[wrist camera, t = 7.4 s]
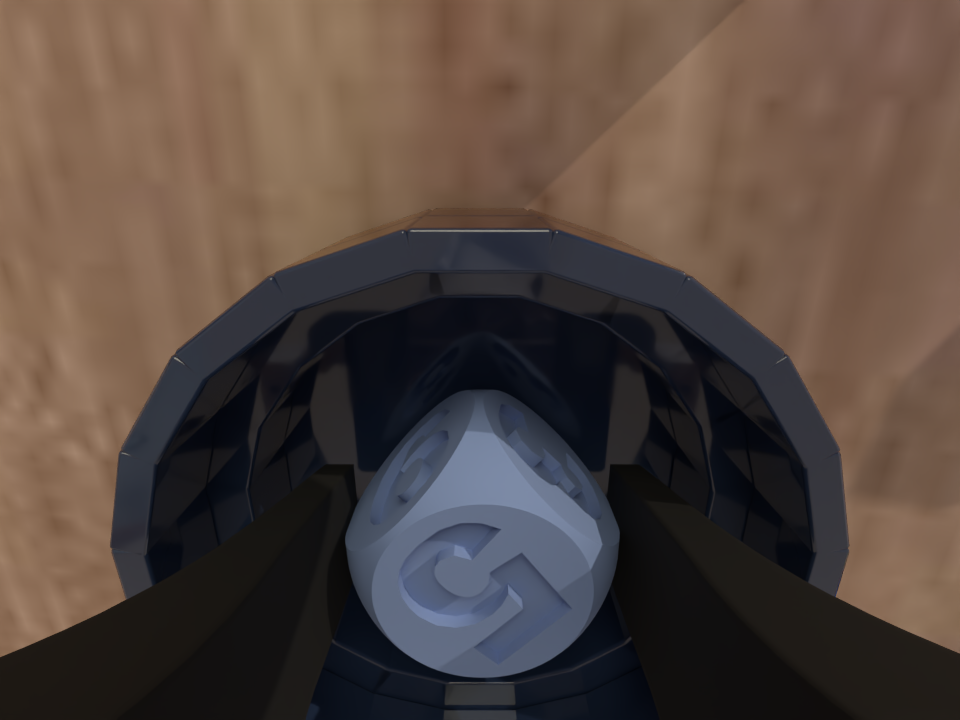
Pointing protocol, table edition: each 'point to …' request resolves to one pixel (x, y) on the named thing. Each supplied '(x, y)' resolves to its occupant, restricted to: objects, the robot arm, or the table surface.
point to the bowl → (489, 366)
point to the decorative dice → (482, 540)
